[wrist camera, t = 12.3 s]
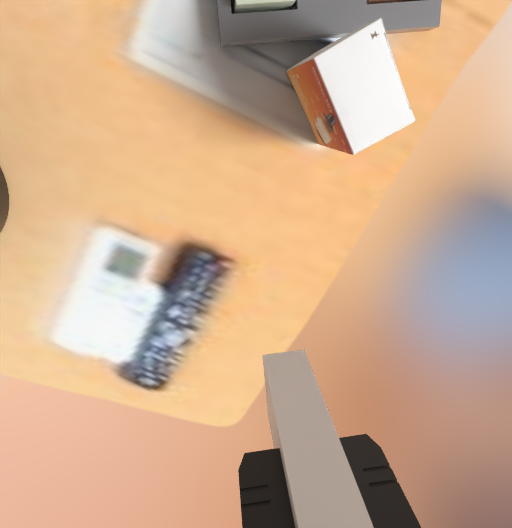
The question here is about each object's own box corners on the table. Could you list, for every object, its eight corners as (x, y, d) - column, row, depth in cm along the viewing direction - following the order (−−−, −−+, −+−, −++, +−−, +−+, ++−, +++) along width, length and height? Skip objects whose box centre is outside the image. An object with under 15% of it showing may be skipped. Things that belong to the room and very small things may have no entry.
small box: (284, 70, 37) (310, 54, 27) (336, 40, 36) (381, 13, 27) (318, 146, 40) (352, 157, 30) (366, 119, 39) (417, 121, 30)
